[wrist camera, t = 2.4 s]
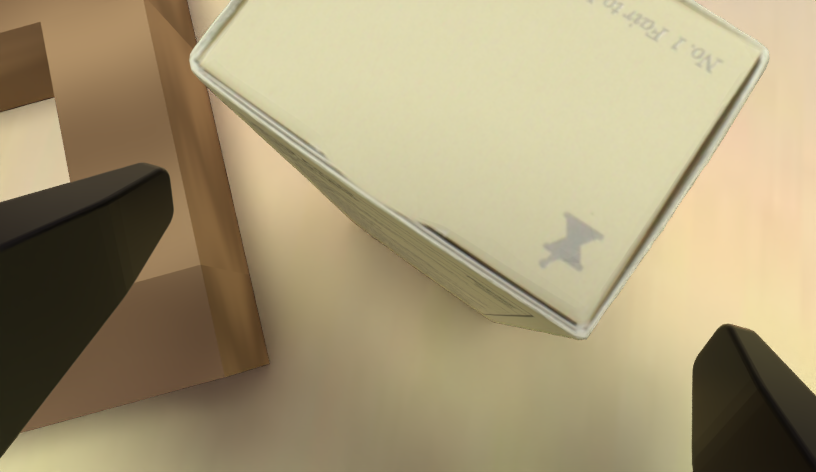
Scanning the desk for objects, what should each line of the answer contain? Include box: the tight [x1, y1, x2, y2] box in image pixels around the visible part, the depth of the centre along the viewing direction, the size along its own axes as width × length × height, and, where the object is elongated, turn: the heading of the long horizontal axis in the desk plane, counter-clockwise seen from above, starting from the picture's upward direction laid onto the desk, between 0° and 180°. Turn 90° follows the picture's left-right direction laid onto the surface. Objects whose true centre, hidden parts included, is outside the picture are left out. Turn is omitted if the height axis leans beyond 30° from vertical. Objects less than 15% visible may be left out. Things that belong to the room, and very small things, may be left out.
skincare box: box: [189, 0, 769, 340], centre depth 13 cm, size 6×4×12 cm
